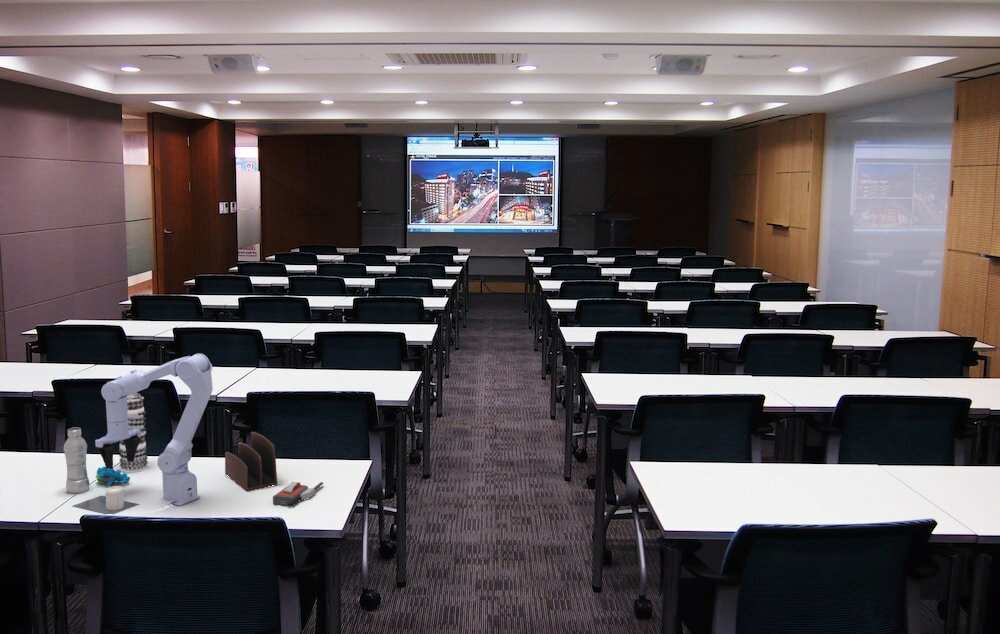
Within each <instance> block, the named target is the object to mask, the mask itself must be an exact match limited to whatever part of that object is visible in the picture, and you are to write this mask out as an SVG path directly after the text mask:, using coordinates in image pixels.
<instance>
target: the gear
mask: <svg viewBox="0 0 1000 634" xmlns="http://www.w3.org/2000/svg"><path fill="white" fill-rule="evenodd" d="M95 478H96V480H97V483H96V486H100V484H101V483H107V484H106V487H105V489H106V488H108V487H112V486H111V485H112V483H115V482H118V483H121V482H123V483H126V484H127V483H129V482H130V480H131V477H130V476H128V473H127V472H123V473H122V471H121V470H120V469H116V470H115V469H114V468H113V469H108V468H106V466H102V467H98V468H97V470H96V475H95Z"/></svg>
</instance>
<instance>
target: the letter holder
mask: <svg viewBox="0 0 1000 634" xmlns="http://www.w3.org/2000/svg"><path fill="white" fill-rule="evenodd" d="M250 439H251V440H250V442H251V444H250V445H251V446H250V445H248V444H246V443H244V442H241V441H240V442H238V443H237V449H238V450H237V451H238V453H237V454H238V456H237V455H236V454H234V453H231V452H229V451H226V452H225V454H224V475H225V474H226V475H228V476H229V477H230V478H231V479H230V478H229V477H228V476H227V477H228V478H229V479H230V480H231V481H233V480H234V481H235V482H236V483H235V482H234V481H233V482H234V483H235V484H237V486H239V485H240V486H241V487H240V486H239V487H240V488H242V489H243V490H244V491H246V492H251V490H252V491H256V490H255V489H257V490H260V489H259V488H262V489H265V488H264V487H267V488H269V487H268V486H272V485H277V486H278V474H277V460H276V448H275V444H274V443H272V441H270V439H268V438H267V437H266V436H264V435H262V434H261V433H258V432H255V431H251V432H250ZM226 475H225V476H226Z"/></svg>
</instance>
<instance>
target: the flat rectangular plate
mask: <svg viewBox="0 0 1000 634" xmlns="http://www.w3.org/2000/svg"><path fill="white" fill-rule="evenodd" d="M139 505H140V503H135V502H132V501H127V500H124V507H123V508H121V509H118V510H108V509H106V495H105V496H104V495H99V496H95V497H92V498H90V499H87V500H85V501H82V502H79V503H76V504H74V505H71V507H72V508H78V509H81V510H84V511H85V510H86V511H89V512H95V513H98V514H103V515H106V514H113V515H115V514H118V513H121V512H123V511H125V510H129V509H131V508H135V507H136V506H139Z"/></svg>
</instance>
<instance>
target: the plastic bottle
mask: <svg viewBox="0 0 1000 634" xmlns="http://www.w3.org/2000/svg"><path fill="white" fill-rule="evenodd" d="M87 449H88V443H87V441H86V440H85V439H84V438H83V437H82V428H81V427H71V428H68V429H67V439H66V440H65V442H64V445H63V452H64V457H65V461H66V462H65V463H66V481H65V482H66V483H65V489H66V493H68V494H71V495H75V494H83V493H85V492H87V491H89V490H90V485H91V484H90V479H89V476H88V475H89V474H88V469H87V451H88V450H87Z"/></svg>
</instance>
